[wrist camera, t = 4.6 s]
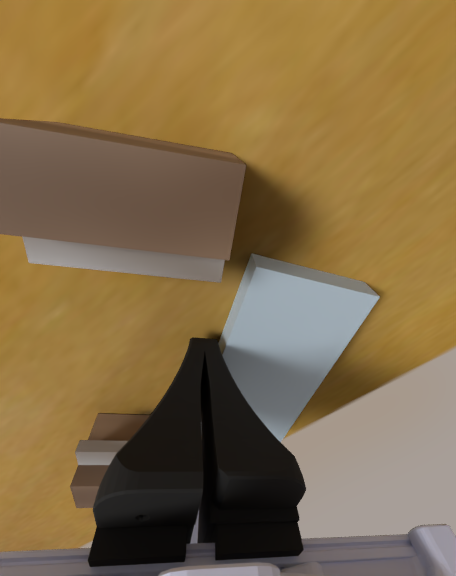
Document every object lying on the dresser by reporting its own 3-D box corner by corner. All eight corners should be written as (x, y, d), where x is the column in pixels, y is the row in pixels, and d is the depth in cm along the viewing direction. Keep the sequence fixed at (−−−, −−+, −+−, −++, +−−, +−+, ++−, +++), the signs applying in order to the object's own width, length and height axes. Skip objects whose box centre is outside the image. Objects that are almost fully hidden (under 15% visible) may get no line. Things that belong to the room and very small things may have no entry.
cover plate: (273, 415, 19) (279, 443, 18) (192, 406, 18) (191, 434, 16) (358, 276, 14) (379, 297, 12) (249, 248, 12) (256, 266, 11)
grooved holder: (189, 437, 19) (185, 505, 15) (101, 436, 18) (76, 507, 14) (231, 152, 10) (246, 164, 6) (55, 122, 9) (-41, 115, 5)
